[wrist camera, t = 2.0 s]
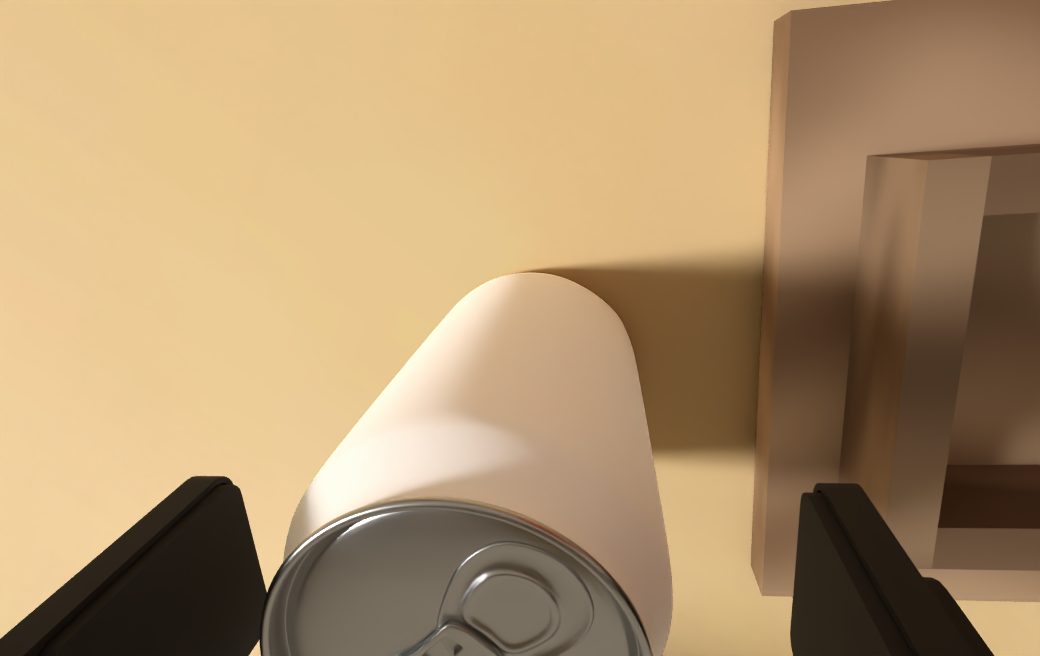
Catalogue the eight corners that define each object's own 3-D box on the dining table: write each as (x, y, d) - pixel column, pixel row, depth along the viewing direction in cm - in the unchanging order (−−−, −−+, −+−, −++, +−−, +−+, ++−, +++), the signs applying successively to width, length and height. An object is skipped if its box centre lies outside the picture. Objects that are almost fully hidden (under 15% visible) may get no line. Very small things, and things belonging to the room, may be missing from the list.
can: (679, 360, 19) (799, 689, 8) (544, 490, 21) (485, 901, 10) (521, 224, 18) (403, 369, 7) (398, 371, 20) (151, 667, 9)
